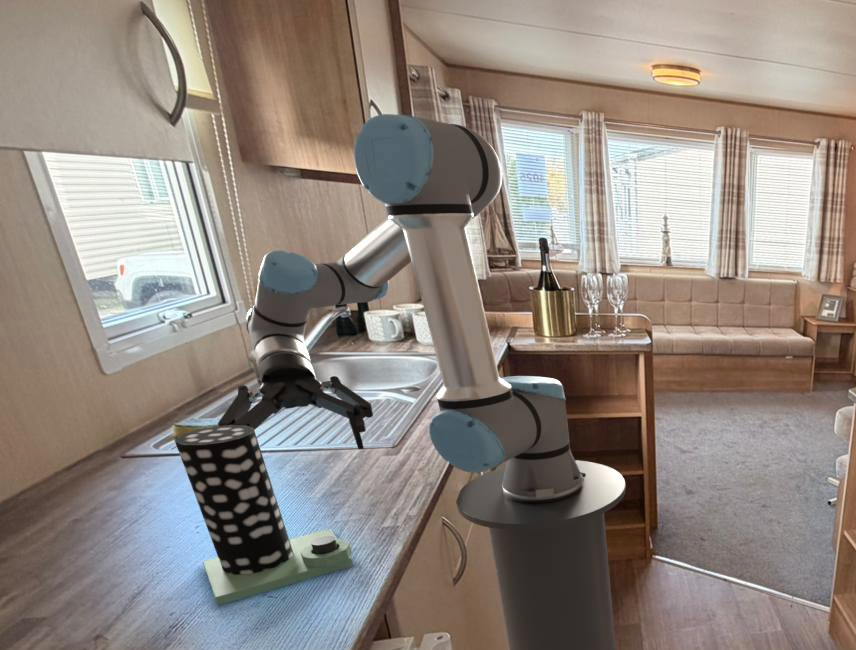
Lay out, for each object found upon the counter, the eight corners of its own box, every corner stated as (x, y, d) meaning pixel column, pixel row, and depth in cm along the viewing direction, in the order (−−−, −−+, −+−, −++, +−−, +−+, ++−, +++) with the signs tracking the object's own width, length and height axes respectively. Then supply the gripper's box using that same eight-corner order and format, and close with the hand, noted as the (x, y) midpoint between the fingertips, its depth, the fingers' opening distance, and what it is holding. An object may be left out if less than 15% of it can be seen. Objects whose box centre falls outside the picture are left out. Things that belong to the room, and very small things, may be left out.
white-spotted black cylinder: (301, 544, 100) (264, 423, 92) (281, 570, 93) (238, 442, 85) (237, 550, 98) (193, 427, 90) (211, 578, 91) (160, 447, 83)
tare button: (335, 543, 99) (332, 533, 98) (340, 550, 97) (337, 540, 96) (311, 550, 97) (308, 540, 96) (316, 557, 95) (313, 547, 94)
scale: (335, 535, 106) (330, 519, 105) (358, 566, 98) (353, 549, 97) (205, 569, 95) (198, 551, 94) (218, 607, 87) (211, 589, 86)
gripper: (372, 376, 121) (401, 452, 111) (198, 395, 106) (214, 484, 97) (366, 344, 116) (396, 421, 106) (182, 359, 101) (197, 449, 92)
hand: (309, 451), depth 101 cm, fingers open, 13 cm apart
